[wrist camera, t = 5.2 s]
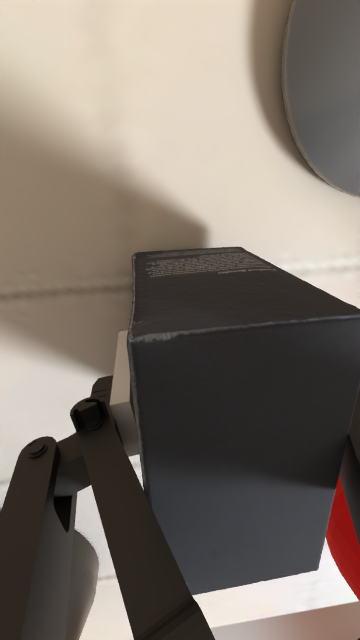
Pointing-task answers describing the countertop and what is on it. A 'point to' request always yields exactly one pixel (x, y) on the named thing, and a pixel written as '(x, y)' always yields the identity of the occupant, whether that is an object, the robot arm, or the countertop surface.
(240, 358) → the small box
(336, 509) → the tomato
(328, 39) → the dish
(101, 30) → the countertop surface
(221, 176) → the countertop surface
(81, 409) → the robot arm
